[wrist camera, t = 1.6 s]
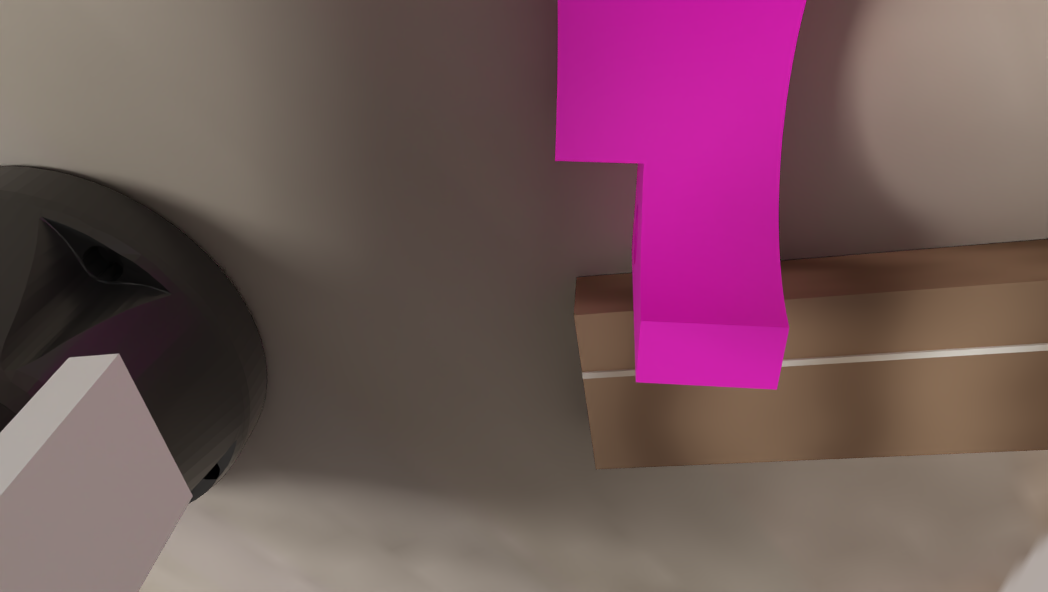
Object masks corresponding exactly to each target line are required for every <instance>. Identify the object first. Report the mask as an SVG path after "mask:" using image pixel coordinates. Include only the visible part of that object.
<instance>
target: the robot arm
mask: <svg viewBox="0 0 1048 592" xmlns="http://www.w3.org/2000/svg"><path fill="white" fill-rule="evenodd" d="M266 387H267V370H266V361H265V355H264V350H263V346H262V343H261V339H260V336H259V333H258V331H257V328H256V326H255V323H254V321H253V319H252V316H251V315H250V313H249V311H248V309H247V307H246V305H245V303H244V302H243V300H242V298H241V297H240V295H239V294H238V292H237V291H236V289H235V288H234V286H233V285H232V284H231V282H230V281H229V279H228V278H227V277H226V276H225V274H224V273H223V272H222V271H221V270H220V268H219V267H218V266H217V265H216V264H215V263H214V262H213V261H212V260H211V258H210V257H209V256H208V255H207V254H206V253H205V252H204V251H203V250H202V249H201V248H200V247H198V246H197V245H196V244H195V243H194V242H193V241H192V240H191V239H189V238H188V237H187V236H186V235H185V234H184V233H182V232H181V231H180V230H178V229H177V228H176V227H175V226H173V225H172V224H171V223H169V222H168V221H166V220H165V219H163V218H162V217H161V216H159V215H158V214H156V213H154V212H153V211H151V210H150V209H148V208H146V207H145V206H143V205H141V204H139V203H138V202H136V201H134V200H132V199H130V198H128V197H126V196H124V195H122V194H120V193H118V192H116V191H114V190H111V189H109V188H107V187H104V186H102V185H99V184H97V183H94V182H91V181H88V180H85V179H82V178H79V177H75V176H72V175H68V174H65V173H60V172H55V171H51V170H45V169H38V168H31V167H17V166H0V592H138V591H139V590H140V588H141V586H142V584H143V583H144V581H145V579H146V577H147V576H148V574H149V572H150V570H151V569H152V567H153V565H154V563H155V562H156V560H157V558H158V556H159V555H160V553H161V551H162V549H163V548H164V546H165V544H166V542H167V541H168V539H169V537H170V535H171V534H172V532H173V530H174V528H175V527H176V525H177V523H178V521H179V520H180V518H181V516H182V514H183V513H184V511H185V509H186V507H187V506H188V504H189V503H190V502H192V501H194V500H196V499H197V498H199V497H200V496H201V495H203V494H204V493H205V492H207V491H208V490H209V489H210V488H211V487H212V486H214V485H215V484H216V483H217V482H218V481H219V480H220V479H221V478H222V477H223V476H224V475H225V474H226V472H227V471H228V470H229V469H230V467H231V466H232V465H233V463H234V462H235V461H236V459H237V457H238V456H239V454H240V452H241V450H242V449H243V447H244V445H245V443H246V441H247V439H248V438H249V436H250V434H251V432H252V430H253V429H254V427H255V425H256V423H257V421H258V419H259V416H260V414H261V411H262V408H263V405H264V400H265V396H266Z"/></svg>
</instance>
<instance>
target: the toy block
mask: <svg viewBox="0 0 1048 592" xmlns="http://www.w3.org/2000/svg"><path fill="white" fill-rule="evenodd" d="M805 4H806V0H558V69H557V117H556V147H555V161H573V162H606V163H638V169H637V183H636V197H635V211H634V225H633V239H632V276H633V309H634V342H635V375H636V382H639V383H658V384H677V385H697V386H716V387H735V388H754V389H773V390H777V387H778V382H779V377H780V372H781V367H782V362H783V357H784V352H785V347H786V342H787V337H788V332H789V323H788V319H787V314H786V308H785V302H784V295H783V287H782V278H781V266H780V250H779V181H780V163H781V149H782V138H783V128H784V118H785V110H786V102H787V95H788V88H789V81H790V75H791V70H792V64H793V58H794V53H795V48H796V43H797V38H798V34H799V29H800V25H801V20H802V16H803V12H804V8H805Z"/></svg>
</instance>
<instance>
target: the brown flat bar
mask: <svg viewBox="0 0 1048 592" xmlns="http://www.w3.org/2000/svg"><path fill="white" fill-rule="evenodd" d="M780 266H781V278H782V287H783V295H784V302H785V308H786V314H787V319H788V323H789V332H788V337H787V342H786V347H785V352H784V357H783V362H782V367H781V372H780V377H779V382H778V387H777V390H773V389H754V388H735V387H716V386H697V385H677V384H658V383H639V382H636V375H635V342H634V309H633V276H632V273H625V274H613V275H600V276H588V277H577V279H576V292H575V306H574V320H575V327H576V334H577V341H578V348H579V355H580V362H581V369H582V378H583V383H584V390H585V397H586V404H587V411H588V418H589V425H590V432H591V439H592V445H593V452H594V459H595V466H596V469H613V468H636V467H659V466H682V465H705V464H728V463H751V462H774V461H797V460H820V459H843V458H866V457H889V456H912V455H935V454H958V453H981V452H1004V451H1027V450H1048V239H1044V240H1032V241H1019V242H1007V243H995V244H982V245H970V246H958V247H945V248H933V249H921V250H908V251H896V252H884V253H871V254H859V255H847V256H834V257H822V258H810V259H798V260H785V261H780Z"/></svg>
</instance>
